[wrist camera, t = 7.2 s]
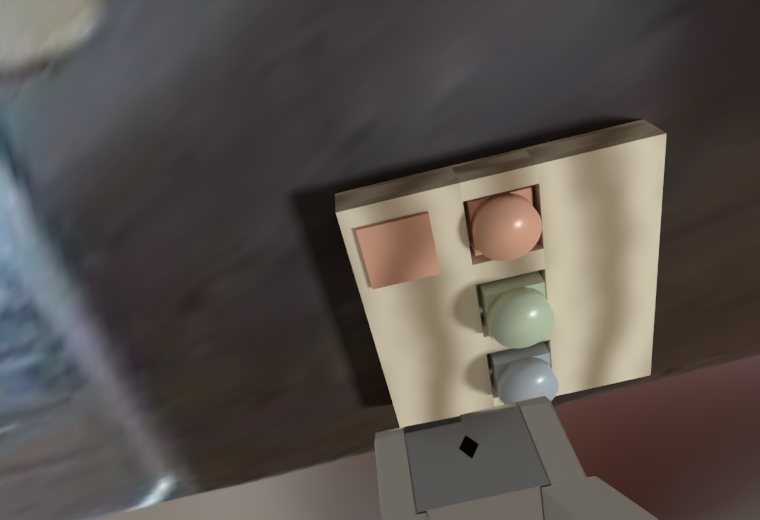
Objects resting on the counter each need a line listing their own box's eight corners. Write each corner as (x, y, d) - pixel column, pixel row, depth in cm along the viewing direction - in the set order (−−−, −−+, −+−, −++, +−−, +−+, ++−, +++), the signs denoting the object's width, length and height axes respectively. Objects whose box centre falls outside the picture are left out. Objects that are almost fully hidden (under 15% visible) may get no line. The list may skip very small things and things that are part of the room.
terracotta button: (468, 243, 41) (479, 267, 38) (460, 189, 39) (470, 210, 36) (528, 229, 41) (543, 252, 38) (523, 174, 38) (539, 194, 35)
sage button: (483, 325, 43) (495, 354, 41) (476, 279, 41) (488, 306, 38) (540, 312, 43) (555, 340, 40) (536, 265, 41) (552, 291, 38)
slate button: (493, 386, 47) (504, 416, 44) (487, 347, 45) (498, 377, 42) (545, 375, 47) (559, 404, 44) (542, 335, 44) (557, 363, 42)
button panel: (397, 404, 50) (401, 432, 47) (334, 193, 38) (335, 214, 36) (633, 351, 49) (652, 377, 46) (643, 119, 37) (668, 134, 35)
